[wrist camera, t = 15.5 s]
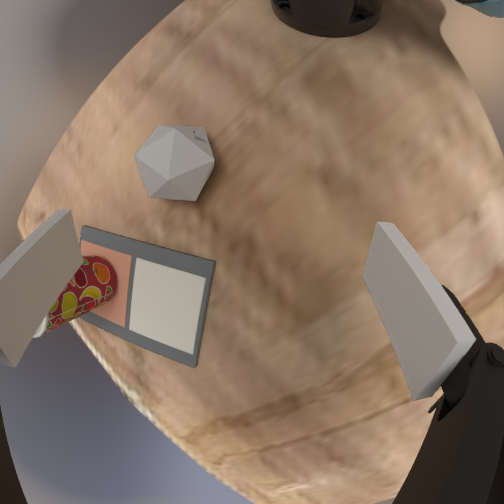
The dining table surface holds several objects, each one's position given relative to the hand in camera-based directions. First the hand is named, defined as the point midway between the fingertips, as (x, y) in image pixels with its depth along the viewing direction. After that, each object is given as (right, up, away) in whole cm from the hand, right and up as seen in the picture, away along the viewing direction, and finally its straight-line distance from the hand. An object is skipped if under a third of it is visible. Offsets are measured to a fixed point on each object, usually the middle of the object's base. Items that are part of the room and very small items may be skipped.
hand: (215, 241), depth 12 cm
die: (-6, +10, +22) cm, 24 cm away
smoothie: (-19, -4, +25) cm, 32 cm away
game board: (-14, -6, +25) cm, 29 cm away
